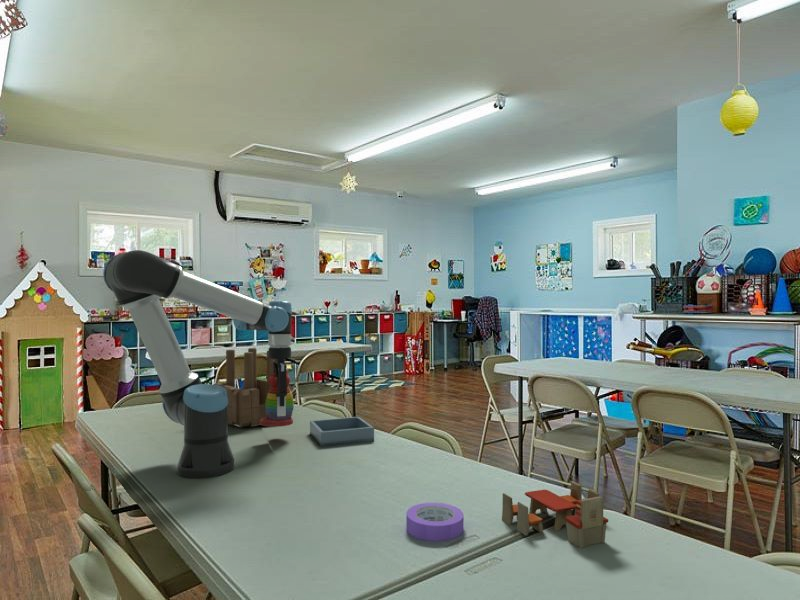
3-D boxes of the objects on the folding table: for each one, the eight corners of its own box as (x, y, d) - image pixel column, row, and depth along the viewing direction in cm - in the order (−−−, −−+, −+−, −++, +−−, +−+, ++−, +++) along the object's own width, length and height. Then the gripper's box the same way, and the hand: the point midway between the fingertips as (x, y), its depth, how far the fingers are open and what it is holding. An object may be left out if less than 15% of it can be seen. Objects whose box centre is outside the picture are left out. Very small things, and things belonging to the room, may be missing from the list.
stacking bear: (282, 419, 189) (282, 368, 189) (300, 423, 183) (301, 370, 183) (256, 424, 181) (256, 371, 181) (275, 428, 174) (275, 373, 175)
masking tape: (474, 530, 110) (474, 511, 110) (440, 550, 102) (440, 530, 102) (430, 515, 118) (430, 498, 118) (394, 532, 110) (394, 514, 110)
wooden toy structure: (241, 428, 198) (241, 355, 198) (207, 416, 220) (207, 349, 220) (295, 419, 214) (294, 350, 214) (258, 408, 236) (257, 346, 236)
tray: (374, 440, 180) (374, 427, 180) (321, 446, 174) (320, 432, 174) (358, 428, 197) (358, 416, 197) (310, 433, 190) (309, 420, 190)
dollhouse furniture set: (569, 507, 122) (569, 464, 122) (634, 542, 105) (633, 491, 105) (497, 521, 115) (497, 475, 115) (553, 560, 98) (553, 506, 98)
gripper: (296, 348, 173) (295, 418, 173) (286, 344, 193) (285, 406, 193) (272, 349, 170) (272, 420, 170) (264, 344, 191) (263, 407, 190)
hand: (279, 413), depth 181 cm, fingers closed on stacking bear, 9 cm apart
